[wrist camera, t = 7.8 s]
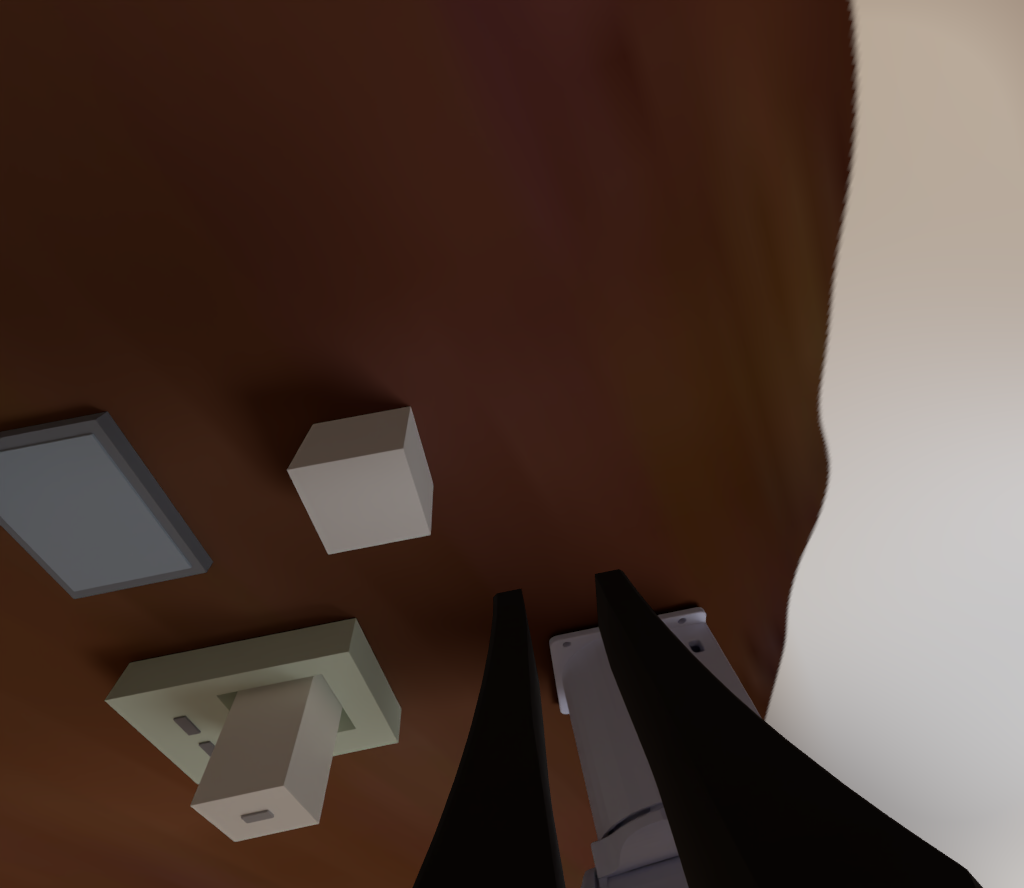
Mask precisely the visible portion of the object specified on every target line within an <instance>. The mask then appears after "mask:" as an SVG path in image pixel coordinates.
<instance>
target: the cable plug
mask: <svg viewBox="0 0 1024 888" xmlns="http://www.w3.org/2000/svg"><path fill="white" fill-rule="evenodd" d="M287 471H288V473H289V475H290V477H291V480H292V482H293V484H294V486H295V488H296V490H297V492H298V494H299V496H300V498H301V500H302V502H303V504H304V506H305V508H306V510H307V512H308V514H309V516H310V518H311V520H312V522H313V524H314V526H315V528H316V531H317V533H318V535H319V537H320V539H321V541H322V543H323V545H324V547H325V549H326V551H327V553H328V555H329V554H334V553H339V552H345V551H350V550H355V549H360V548H365V547H371V546H376V545H381V544H386V543H391V542H397V541H402V540H407V539H412V538H417V537H423V536H428V535H431V520H432V501H433V482H432V478H431V475H430V471H429V468H428V464H427V461H426V458H425V454H424V451H423V447H422V444H421V440H420V437H419V433H418V430H417V427H416V423H415V420H414V416H413V413H412V409H411V406H410V407H404V408H399V409H393V410H388V411H382V412H377V413H371V414H366V415H360V416H355V417H350V418H344V419H339V420H333V421H328V422H322V423H317V424H313V425H312V427H311V428H310V430H309V432H308V434H307V435H306V437H305V439H304V441H303V442H302V444H301V446H300V448H299V449H298V451H297V453H296V455H295V457H294V458H293V460H292V462H291V464H290V465H289V467H288V469H287Z"/></svg>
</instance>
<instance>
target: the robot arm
mask: <svg viewBox="0 0 1024 888" xmlns="http://www.w3.org/2000/svg"><path fill="white" fill-rule="evenodd" d="M595 582H596V597H597V612H598V626H599V627H596V628H591V629H586V630H581V631H576V632H571V633H567V634H562V635H557V636H554V637H552V638H551V639H550V640H549V645H550V651H551V657H552V664H553V670H554V676H555V682H556V688H557V695H558V701H559V707H560V711H561V713H563V714H570V718H571V723H572V727H573V731H574V736H575V740H576V745H577V749H578V753H579V758H580V762H581V767H582V771H583V775H584V780H585V784H586V789H587V793H588V797H589V802H590V806H591V810H592V815H593V819H594V824H595V828H596V833H597V837H598V841H595V842H593V843H591V849H592V853H593V858H594V863H595V868H592V869H589V870H587V871H586V872H585V874H584V877H583V882H582V886H581V888H983V887H982V886H981V885H980V884H979V883H978V882H977V881H976V879H975V878H974V877H973V876H972V875H971V874H970V873H969V871H968V870H967V869H965V868H964V867H963V866H961V865H960V864H958V863H957V862H955V861H954V860H952V859H951V858H949V857H948V856H946V855H945V854H943V853H942V852H940V851H939V850H937V849H936V848H934V847H933V846H931V845H930V844H928V843H927V842H925V841H924V840H922V839H921V838H919V837H918V836H917V835H915V834H914V833H912V832H911V831H909V830H908V829H906V828H905V827H903V826H902V825H901V824H899V823H898V822H896V821H895V820H893V819H892V818H890V817H889V816H888V815H886V814H885V813H883V812H882V811H880V810H879V809H878V808H876V807H875V806H874V805H872V804H871V803H869V802H868V801H867V800H865V799H864V798H862V797H861V796H860V795H858V794H857V793H856V792H854V791H853V790H851V789H850V788H849V787H847V786H846V785H844V784H843V783H842V782H840V781H839V780H838V779H837V778H835V777H834V776H833V775H831V774H830V773H829V772H828V771H826V770H825V769H824V768H823V767H821V766H820V765H819V764H817V763H816V762H815V761H813V760H812V759H811V758H810V757H808V756H807V755H806V754H804V753H803V752H802V751H801V750H799V749H798V748H797V747H795V746H794V745H793V744H792V743H790V742H789V741H788V740H787V739H785V738H784V737H783V736H782V735H781V734H779V733H778V732H777V731H776V730H775V729H773V728H772V727H771V726H770V725H768V724H767V723H766V722H765V721H764V720H763V719H762V718H761V717H760V715H759V713H758V711H757V710H756V708H755V706H754V704H753V703H752V701H751V699H750V698H749V696H748V694H747V692H746V691H745V689H744V687H743V686H742V684H741V682H740V681H739V679H738V677H737V675H736V674H735V672H734V670H733V669H732V667H731V665H730V663H729V662H728V660H727V658H726V657H725V655H724V653H723V651H722V650H721V648H720V646H719V645H718V643H717V641H716V639H715V638H714V636H713V634H712V633H711V631H710V629H709V628H708V626H707V624H706V623H705V621H706V613H705V611H704V610H703V609H702V608H700V607H695V608H690V609H685V610H680V611H675V612H670V613H665V614H660V615H657V614H656V613H655V612H654V611H653V609H652V608H651V607H650V606H649V605H648V603H647V602H646V601H645V600H644V599H643V597H642V596H641V595H640V594H639V592H638V591H637V590H636V588H635V587H634V586H633V585H632V583H631V582H630V581H629V579H628V578H627V576H626V575H625V574H624V572H623V571H621V570H619V569H618V570H613V571H608V572H603V573H598V574H595ZM413 888H565V882H564V876H563V870H562V864H561V858H560V852H559V847H558V841H557V835H556V829H555V823H554V817H553V811H552V804H551V796H550V789H549V779H548V769H547V759H546V748H545V738H544V728H543V717H542V707H541V697H540V687H539V680H538V674H537V669H536V663H535V658H534V652H533V647H532V641H531V636H530V631H529V626H528V621H527V615H526V610H525V605H524V600H523V595H522V590H521V589H517V590H512V591H507V592H502V593H497V594H496V595H495V596H494V597H493V620H492V629H491V637H490V643H489V650H488V655H487V660H486V665H485V670H484V676H483V681H482V685H481V689H480V693H479V697H478V701H477V705H476V709H475V713H474V717H473V721H472V725H471V728H470V732H469V735H468V739H467V742H466V745H465V749H464V752H463V755H462V758H461V761H460V764H459V768H458V771H457V774H456V777H455V780H454V783H453V785H452V788H451V791H450V794H449V797H448V799H447V802H446V805H445V808H444V811H443V813H442V816H441V819H440V822H439V824H438V827H437V829H436V832H435V835H434V837H433V840H432V842H431V845H430V847H429V850H428V852H427V854H426V857H425V859H424V862H423V864H422V866H421V869H420V871H419V874H418V876H417V878H416V881H415V883H414V886H413Z"/></svg>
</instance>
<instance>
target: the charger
mask: <svg viewBox="0 0 1024 888" xmlns="http://www.w3.org/2000/svg"><path fill="white" fill-rule="evenodd" d="M341 712H342V705H341V704H340V702H339V700H338V699H337V697H336V696H335V694H334V692H333V691H332V689H331V688H330V686H329V684H328V683H327V681H326V680H325V678H324V676H323V675H322V674H320V675H315V676H310V677H305V678H300V679H295V680H290V681H285V682H280V683H275V684H270V685H265V686H261V687H256V688H251V689H246V690H241V691H238V692H237V694H236V697H235V699H234V702H233V704H232V706H231V709H230V711H229V714H228V716H227V718H226V721H225V723H224V726H223V728H222V730H221V733H220V735H219V738H218V740H217V742H216V745H215V747H214V750H213V752H212V755H211V757H210V759H209V762H208V764H207V767H206V769H205V771H204V774H203V776H202V779H201V781H200V783H199V786H198V788H197V791H196V793H195V795H194V798H193V800H192V803H191V805H190V806H191V807H192V808H194V809H195V810H196V811H197V812H198V813H200V814H201V815H202V816H203V817H205V818H206V819H207V820H208V821H210V822H211V823H212V824H213V825H214V826H216V827H217V828H218V829H219V830H221V831H222V832H223V833H224V834H226V835H227V836H228V837H229V838H231V839H232V840H233V841H234V842H237V841H242V840H246V839H251V838H255V837H260V836H264V835H269V834H274V833H278V832H283V831H287V830H292V829H297V828H301V827H306V826H310V825H315V824H319V821H320V816H321V811H322V806H323V801H324V796H325V791H326V786H327V781H328V776H329V771H330V766H331V762H332V757H333V752H334V747H335V742H336V737H337V732H338V727H339V722H340V717H341Z"/></svg>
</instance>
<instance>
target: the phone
mask: <svg viewBox="0 0 1024 888" xmlns="http://www.w3.org/2000/svg"><path fill="white" fill-rule="evenodd" d="M0 525H1V526H2V527H3V528H4V529H5V530H6V531H7V532H8V533H9V534H10V535H11V536H12V537H13V538H14V539H15V540H16V541H17V542H18V543H19V544H20V545H21V546H22V547H23V548H24V549H25V550H26V551H27V552H28V553H29V554H30V555H31V556H32V557H33V558H34V559H35V560H36V561H37V562H38V563H39V564H40V565H41V566H42V567H43V568H44V569H45V570H46V571H47V572H48V573H49V574H50V575H51V576H52V577H53V578H54V579H55V580H56V581H57V582H58V583H59V584H60V585H61V586H62V587H63V588H64V589H65V590H66V591H67V592H68V593H69V594H70V595H71V597H72V598H73V599H77V598H82V597H87V596H92V595H97V594H102V593H107V592H112V591H117V590H122V589H127V588H132V587H136V586H141V585H146V584H151V583H156V582H161V581H166V580H171V579H176V578H181V577H186V576H191V575H196V574H201V573H206V572H207V571H208V569H209V568H210V566H211V564H212V563H213V561H212V560H211V558H210V557H209V555H208V554H207V552H206V551H205V550H204V548H203V547H202V545H201V544H200V543H199V541H198V540H197V538H196V537H195V535H194V534H193V533H192V531H191V530H190V528H189V527H188V525H187V524H186V523H185V521H184V520H183V518H182V517H181V515H180V514H179V513H178V511H177V510H176V508H175V507H174V506H173V504H172V503H171V501H170V500H169V498H168V497H167V496H166V494H165V493H164V491H163V490H162V488H161V487H160V486H159V484H158V483H157V481H156V480H155V478H154V477H153V476H152V474H151V473H150V471H149V470H148V468H147V467H146V466H145V464H144V463H143V461H142V460H141V459H140V457H139V456H138V454H137V453H136V451H135V450H134V449H133V447H132V446H131V444H130V443H129V441H128V440H127V439H126V437H125V436H124V434H123V433H122V431H121V430H120V429H119V427H118V426H117V424H116V423H115V422H114V420H113V419H112V417H111V416H110V414H109V413H108V412H102V413H97V414H92V415H87V416H81V417H76V418H71V419H66V420H60V421H55V422H50V423H45V424H39V425H34V426H29V427H24V428H18V429H13V430H8V431H3V432H0Z"/></svg>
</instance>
